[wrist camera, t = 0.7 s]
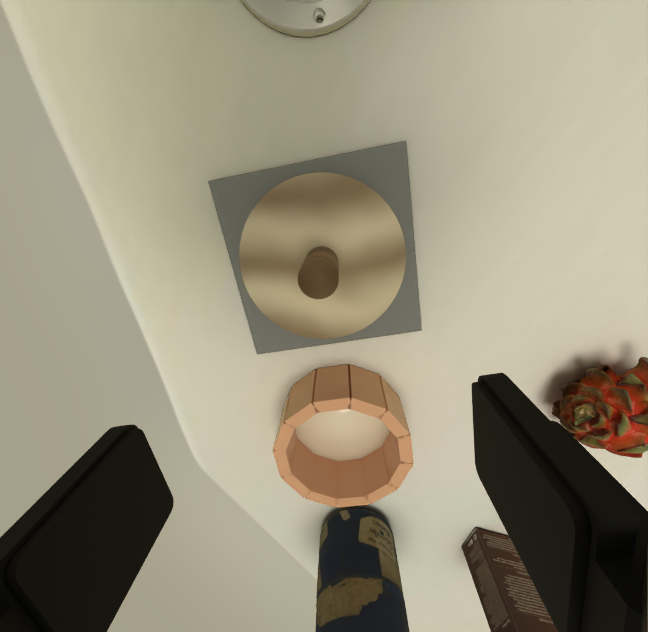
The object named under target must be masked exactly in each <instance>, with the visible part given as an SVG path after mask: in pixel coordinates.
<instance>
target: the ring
mask: <svg viewBox="0 0 648 632" xmlns="http://www.w3.org/2000/svg"><path fill="white" fill-rule="evenodd" d="M273 453H274V457H275V460H276V463H277V467H278V470H279V473H280V477H282V479H283V480H284V481H285V482H286V483H287V484H289V485H290V486H291V487H292V488H293V489H294V490H295V491H297V492H298V493H299V494H300V495H301V496H302V497H305V499H309V500H312V501H315V502H319V503H322V504H325V505H329V506H332V507H335V506H336V505H337V508H338V507H349V506H359V505H369V503H370V504H372V503H374V502H375V501H377V500H379V499H381V498H383V497H385V496H386V495H388V494H390V493H392V492H394V491H395V490H397V488H399V487H400V485H401V484H402V482H403V480H404V479H405V477H406V475H407V474H408V472H409V470H410V469H411V467H412V465H413V453H412V444H411V435H410V432H409V429H408V425H407V422H406V419H405V415H404V412H403V409H402V405H401V402H400V399H399V396H398V395H397V394H396V392H395V391H394V390H393V389H392V388H391V387H390V386H389V385H388V383H387V382H386V381H385V380H384V379H383V378H382V377H381V376H379V374H377V373H374V372H371V371H368V370H365V369H362V368H359V367H356V366H353V365H349V367H348V364H346V365H338V366H331V367H324V368H317V370H316V369H315V370H314V371H312V372H311V373H309V374H308V375H307V376H305V377H304V378H303V379H301V380H300V381H298V382H297V383H296V384H294V385H293V387H291V390H290V393H289V395H288V398H287V401H286V403H285V406H284V408H283V412H282V415H281V419H280V423H279V427H278V431H277V435H276V439H275V443H274V447H273Z"/></svg>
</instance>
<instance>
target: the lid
mask: <svg viewBox="0 0 648 632" xmlns="http://www.w3.org/2000/svg"><path fill="white" fill-rule="evenodd" d="M239 261H240V269H241V274H242V278H243V281H244V284H245V287H246V289H247V291H248V293H249V295H250V297H251V298H252V300H253V301H254V303H255V304H256V306H257V307H258V308H259V309H260V311H261V312H262V313H263V314H264V315H265V316H266V317H267V318H269V319H270V320H271V321H272V322H274V323H275V324H276V325H278V326H280V327H281V328H283V329H285V330H287V331H289V332H292V333H294V334H297V335H300V336H304V337H309V338H315V339H330V338H338V337H343V336H347V335H350V334H353V333H355V332H357V331H360V330H362V329H364V328H365V327H367V326H368V325H370V324H372V323H373V322H374V321H375V320H377V319H378V318H379V317H380V316H381V315H382V314H383V313H384V312H385V311H386V310H387V309H388V307H389V306H390V304H391V303H392V302H393V300H394V298H395V297H396V295H397V293H398V291H399V288H400V286H401V283H402V280H403V276H404V272H405V264H406V247H405V241H404V236H403V233H402V230H401V226H400V224H399V222H398V220H397V218H396V216H395V214H394V213H393V211H392V209H391V208H390V206H389V205H388V204H387V203H386V202H385V201H384V199H383V198H382V197H381V196H380V195H379V194H377V193H376V192H375V191H374V190H373V189H371V188H370V187H368V186H367V185H365V184H364V183H362V182H360V181H358V180H356V179H353V178H351V177H348V176H344V175H341V174H335V173H326V172H316V173H308V174H303V175H299V176H296V177H293V178H291V179H288V180H286V181H284V182H282V183H280V184H279V185H277V186H276V187H274V188H273V189H271V190H270V191H269V192H268V193H267V194H265V195H264V196H263V197H262V198H261V200H260V201H259V202H258V203H257V204H256V206H255V207H254V209H253V210H252V211H251V213H250V215H249V217H248V219H247V221H246V223H245V226H244V229H243V232H242V235H241V241H240V249H239Z"/></svg>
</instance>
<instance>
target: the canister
mask: <svg viewBox="0 0 648 632" xmlns="http://www.w3.org/2000/svg"><path fill="white" fill-rule="evenodd" d="M316 608H317V612H316V632H409V627H408V620H407V614H406V608H405V601H404V597H403V591H402V585H401V578H400V572H399V566H398V561H397V555H396V549H395V543H394V537H393V533H392V530H391V527H390V526H389V524H388V522H387V521H386V520H385V519H384V518H383V517H382V516H380V515H379V514H377V513H375V512H373V511H370V510H366V509H347V510H343V511H340V512H338V513H336V514H334V515H333V516H331V517H330V518H329V519H328V520H327V521H326V523H325V524H324V526H323V528H322V531H321V535H320V548H319V565H318V580H317V603H316Z"/></svg>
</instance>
